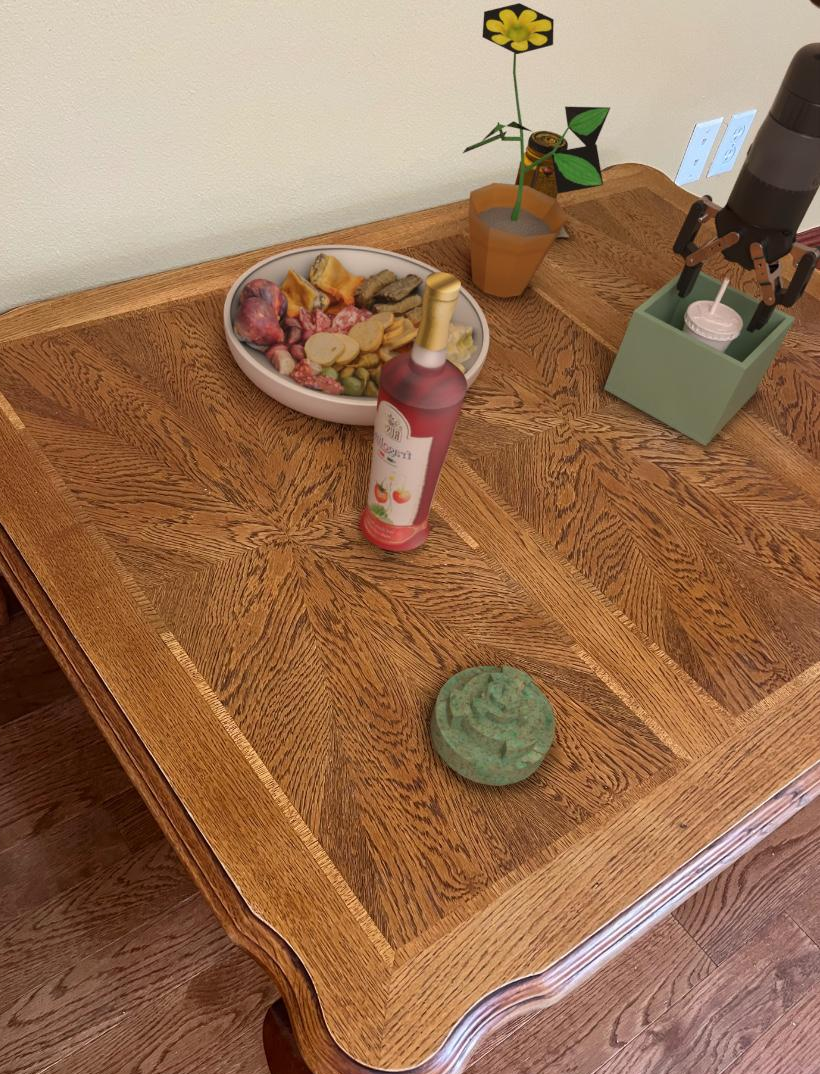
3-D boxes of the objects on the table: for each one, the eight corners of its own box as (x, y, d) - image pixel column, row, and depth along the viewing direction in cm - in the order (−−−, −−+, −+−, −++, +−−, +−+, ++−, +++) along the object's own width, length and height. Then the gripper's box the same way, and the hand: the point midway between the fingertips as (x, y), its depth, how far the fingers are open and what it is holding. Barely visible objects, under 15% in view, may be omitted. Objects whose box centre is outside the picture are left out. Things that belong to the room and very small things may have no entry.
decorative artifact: (457, 799, 75) (567, 768, 78) (475, 756, 70) (592, 724, 72) (412, 697, 81) (516, 672, 84) (426, 649, 75) (536, 624, 78)
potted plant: (400, 271, 122) (441, 15, 98) (497, 230, 131) (554, -13, 107) (501, 341, 114) (570, 84, 91) (595, 293, 124) (680, 48, 100)
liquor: (444, 538, 93) (510, 289, 71) (393, 573, 89) (445, 323, 67) (392, 496, 96) (441, 244, 74) (340, 529, 92) (374, 274, 70)
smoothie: (675, 362, 115) (722, 258, 104) (719, 389, 112) (772, 286, 101) (646, 382, 111) (690, 277, 100) (690, 410, 109) (741, 306, 98)
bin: (656, 342, 118) (689, 265, 110) (754, 394, 114) (795, 317, 105) (603, 389, 111) (633, 310, 102) (705, 446, 106) (745, 369, 98)
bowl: (428, 271, 122) (438, 214, 116) (521, 422, 105) (539, 365, 99) (199, 290, 114) (197, 230, 108) (260, 458, 97) (262, 398, 91)
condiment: (498, 210, 134) (518, 125, 125) (554, 211, 136) (578, 127, 127) (511, 238, 130) (532, 152, 121) (568, 239, 131) (594, 154, 122)
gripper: (866, 185, 91) (789, 327, 103) (734, 128, 95) (676, 271, 108) (838, 211, 87) (761, 355, 99) (702, 150, 91) (645, 296, 104)
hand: (717, 311), depth 104 cm, fingers open, 8 cm apart
